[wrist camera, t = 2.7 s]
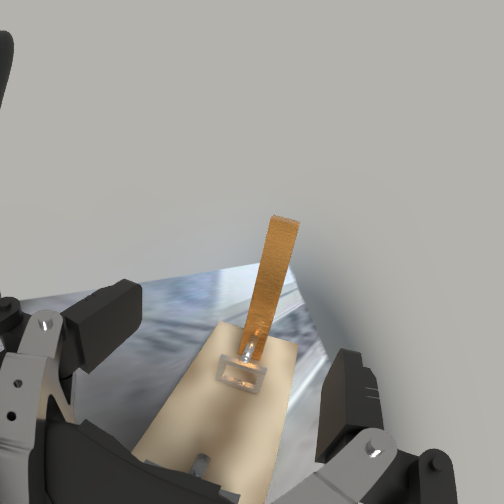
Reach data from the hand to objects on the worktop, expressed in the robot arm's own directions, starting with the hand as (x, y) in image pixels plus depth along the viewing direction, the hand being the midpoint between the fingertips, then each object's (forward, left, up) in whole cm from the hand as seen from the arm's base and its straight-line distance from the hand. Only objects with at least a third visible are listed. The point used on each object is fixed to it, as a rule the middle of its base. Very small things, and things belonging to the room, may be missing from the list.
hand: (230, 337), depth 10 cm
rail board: (0, +6, -15) cm, 17 cm away
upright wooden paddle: (0, +14, -13) cm, 19 cm away
